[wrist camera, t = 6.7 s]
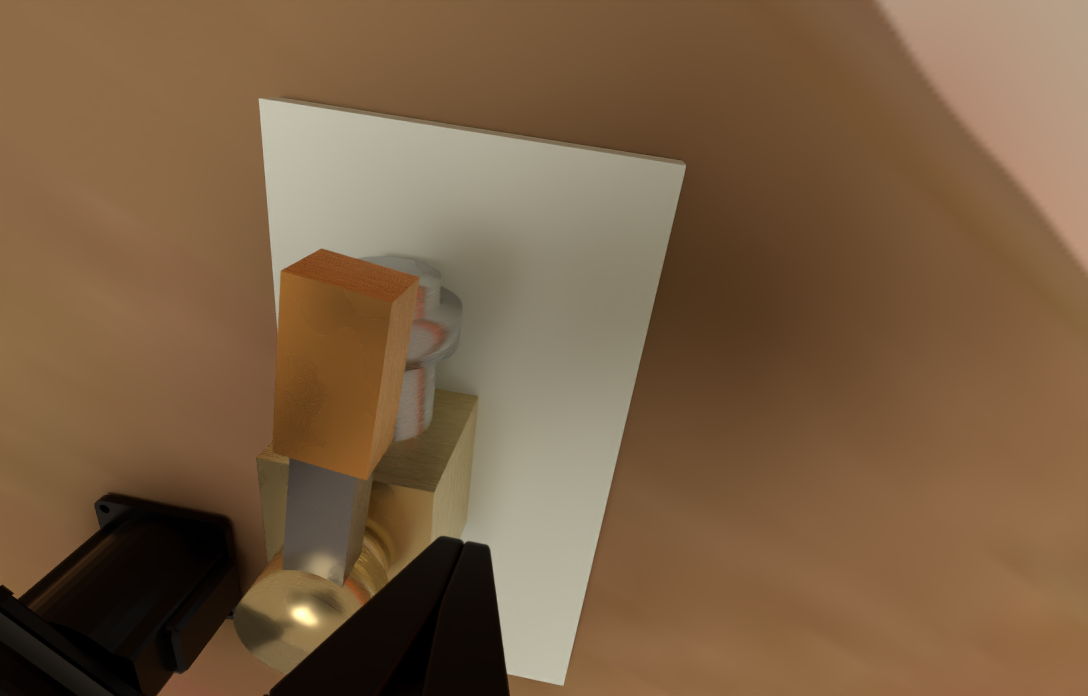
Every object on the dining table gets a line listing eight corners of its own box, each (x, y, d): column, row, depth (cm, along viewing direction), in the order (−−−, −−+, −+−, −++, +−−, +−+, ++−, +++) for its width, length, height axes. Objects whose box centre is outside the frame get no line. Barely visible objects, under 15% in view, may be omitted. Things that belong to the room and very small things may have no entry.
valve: (458, 604, 25) (413, 745, 20) (347, 581, 26) (273, 714, 20) (491, 265, 18) (436, 341, 13) (338, 239, 19) (222, 302, 13)
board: (313, 609, 29) (301, 629, 28) (280, 97, 18) (258, 97, 17) (565, 662, 28) (563, 685, 27) (682, 160, 17) (686, 165, 16)
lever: (381, 630, 17) (352, 694, 15) (274, 598, 17) (233, 659, 15) (447, 284, 12) (415, 319, 10) (294, 240, 12) (237, 267, 10)
